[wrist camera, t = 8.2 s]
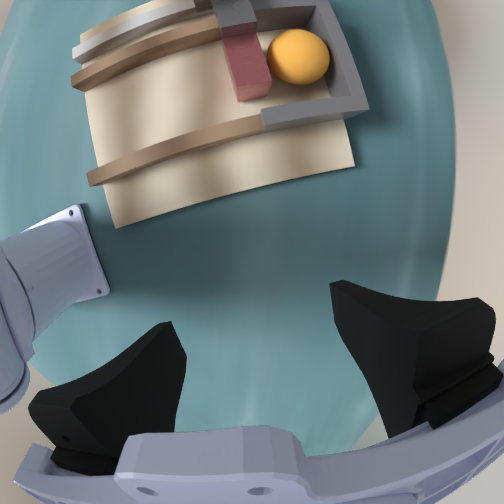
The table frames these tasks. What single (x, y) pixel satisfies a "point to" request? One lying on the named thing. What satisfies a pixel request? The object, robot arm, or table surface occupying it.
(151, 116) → the beige grooved board
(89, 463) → the robot arm
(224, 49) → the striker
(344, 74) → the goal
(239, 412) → the table surface
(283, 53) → the ball
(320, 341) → the table surface
